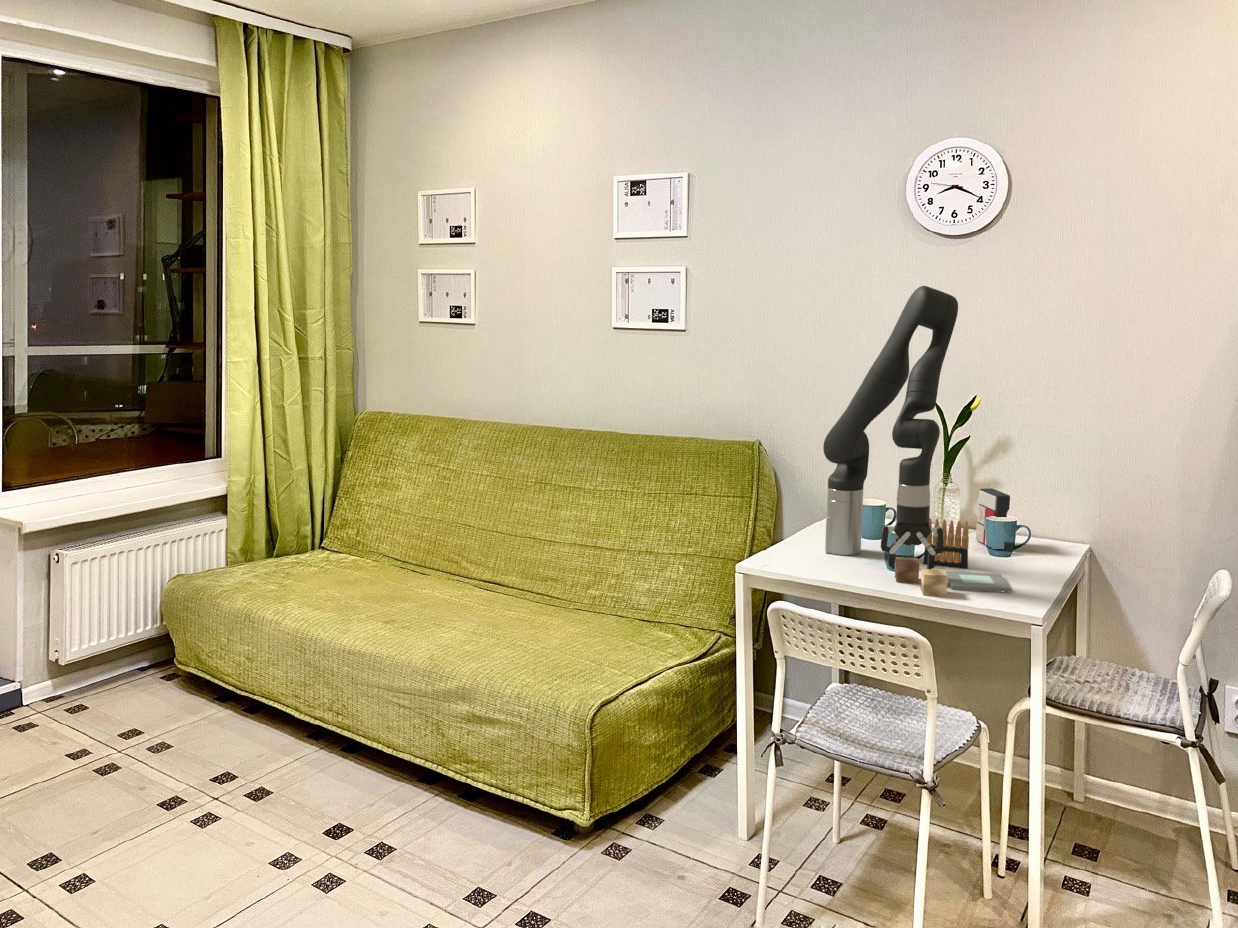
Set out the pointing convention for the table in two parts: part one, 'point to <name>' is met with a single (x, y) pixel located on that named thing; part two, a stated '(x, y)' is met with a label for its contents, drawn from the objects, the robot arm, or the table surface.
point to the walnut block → (907, 570)
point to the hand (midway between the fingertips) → (910, 569)
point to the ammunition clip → (950, 546)
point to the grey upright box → (990, 509)
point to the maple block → (933, 582)
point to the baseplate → (977, 581)
